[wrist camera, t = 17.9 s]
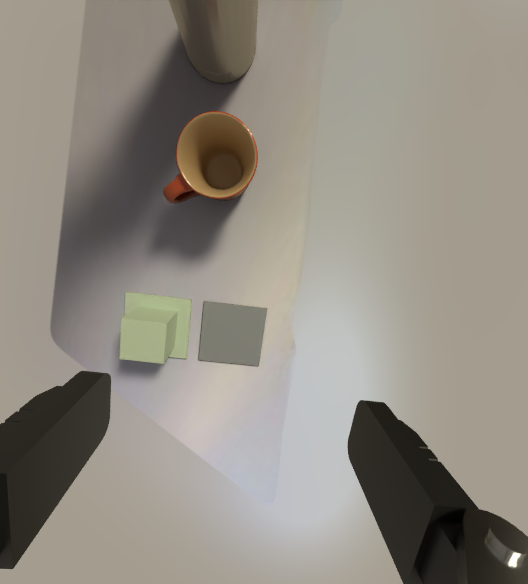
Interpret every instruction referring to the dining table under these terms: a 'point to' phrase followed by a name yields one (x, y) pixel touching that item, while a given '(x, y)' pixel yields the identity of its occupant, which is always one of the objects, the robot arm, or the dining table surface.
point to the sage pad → (169, 304)
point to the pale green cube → (148, 334)
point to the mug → (213, 158)
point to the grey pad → (232, 333)
